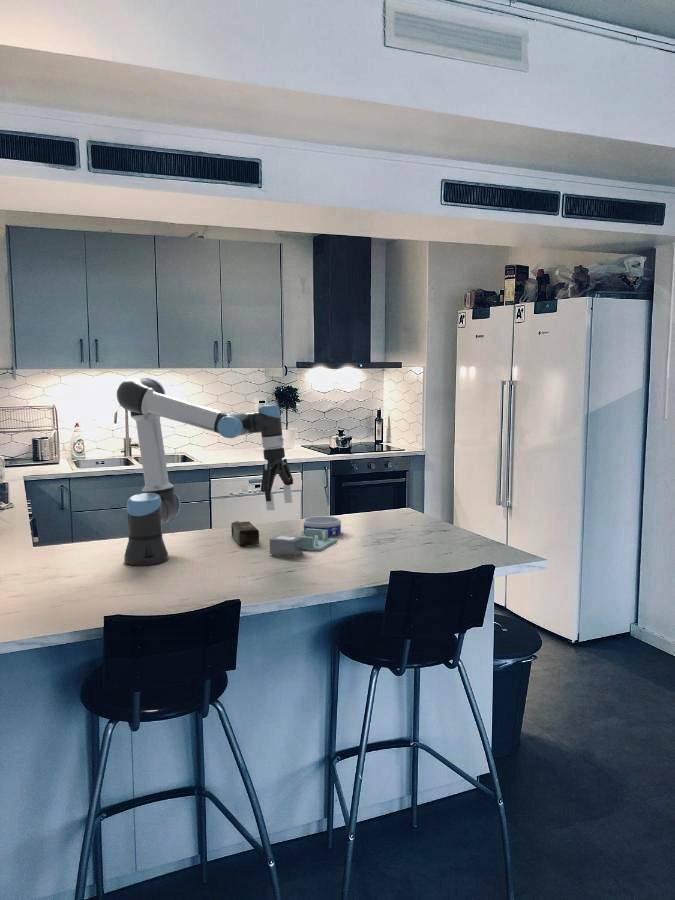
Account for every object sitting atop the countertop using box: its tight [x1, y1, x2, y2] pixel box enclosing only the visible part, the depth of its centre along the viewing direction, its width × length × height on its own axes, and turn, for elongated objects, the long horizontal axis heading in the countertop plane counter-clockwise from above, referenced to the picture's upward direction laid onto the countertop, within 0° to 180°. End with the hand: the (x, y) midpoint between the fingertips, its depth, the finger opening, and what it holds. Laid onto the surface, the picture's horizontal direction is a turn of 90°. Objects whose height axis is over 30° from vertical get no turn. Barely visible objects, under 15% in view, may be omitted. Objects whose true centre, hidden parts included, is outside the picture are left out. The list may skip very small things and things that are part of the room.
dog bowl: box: [303, 515, 342, 538], centre depth 297 cm, size 15×15×6 cm
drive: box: [269, 535, 304, 558], centre depth 264 cm, size 10×6×6 cm, turn 66°
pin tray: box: [290, 528, 338, 552], centre depth 278 cm, size 16×16×4 cm
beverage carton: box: [230, 520, 260, 547], centre depth 286 cm, size 8×19×7 cm, turn 18°
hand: (279, 506), depth 261 cm, fingers open, 13 cm apart
